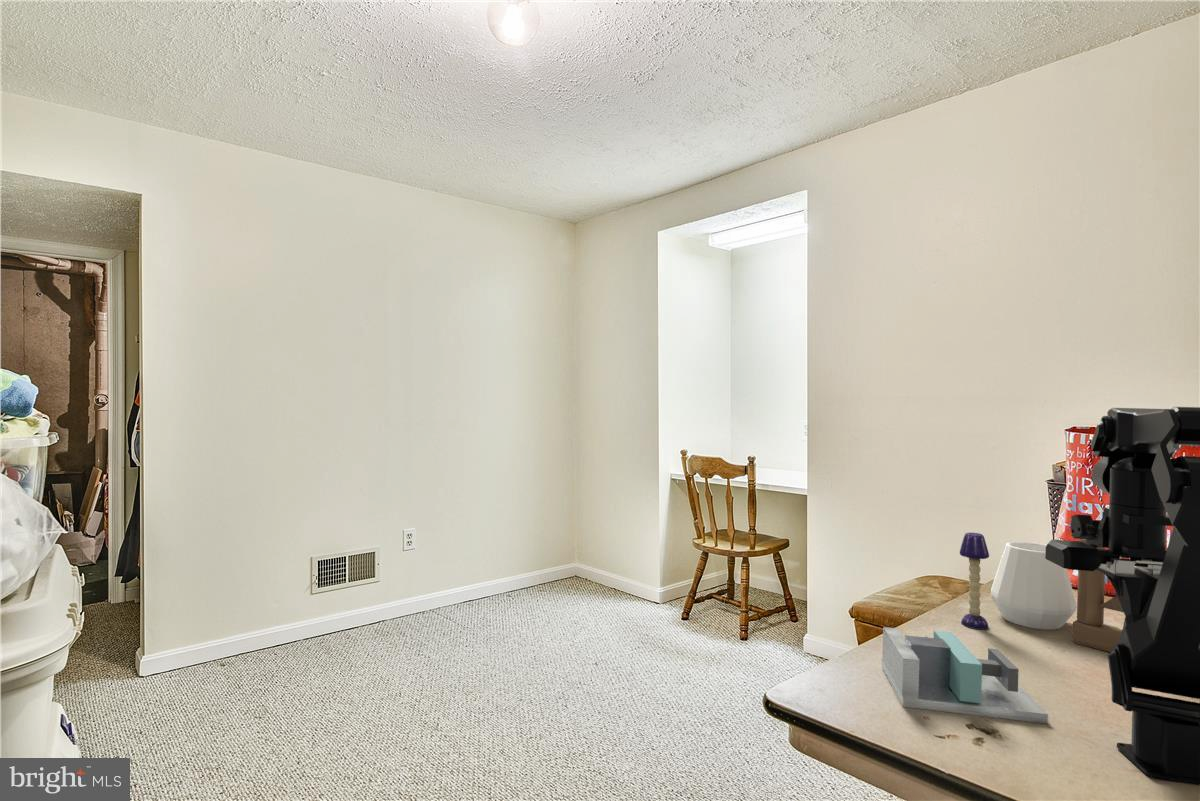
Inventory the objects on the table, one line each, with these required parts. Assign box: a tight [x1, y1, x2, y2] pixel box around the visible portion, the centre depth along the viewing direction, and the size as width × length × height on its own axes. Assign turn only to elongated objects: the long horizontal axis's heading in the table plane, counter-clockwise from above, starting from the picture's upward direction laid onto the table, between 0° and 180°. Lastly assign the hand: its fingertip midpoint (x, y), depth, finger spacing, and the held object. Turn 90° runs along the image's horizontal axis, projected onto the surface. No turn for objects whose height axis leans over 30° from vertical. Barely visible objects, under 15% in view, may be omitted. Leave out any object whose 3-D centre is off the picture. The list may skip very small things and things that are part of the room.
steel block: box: [904, 635, 951, 688], centre depth 90 cm, size 4×5×6 cm
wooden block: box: [1071, 539, 1124, 654], centre depth 106 cm, size 4×11×18 cm, turn 35°
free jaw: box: [933, 630, 1019, 703], centre depth 89 cm, size 12×8×5 cm, turn 168°
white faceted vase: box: [990, 541, 1077, 631], centre depth 120 cm, size 13×13×14 cm
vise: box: [880, 626, 1049, 724], centre depth 89 cm, size 13×17×6 cm
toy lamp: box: [959, 532, 990, 630], centre depth 117 cm, size 5×5×17 cm
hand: (1133, 625), depth 83 cm, fingers closed
